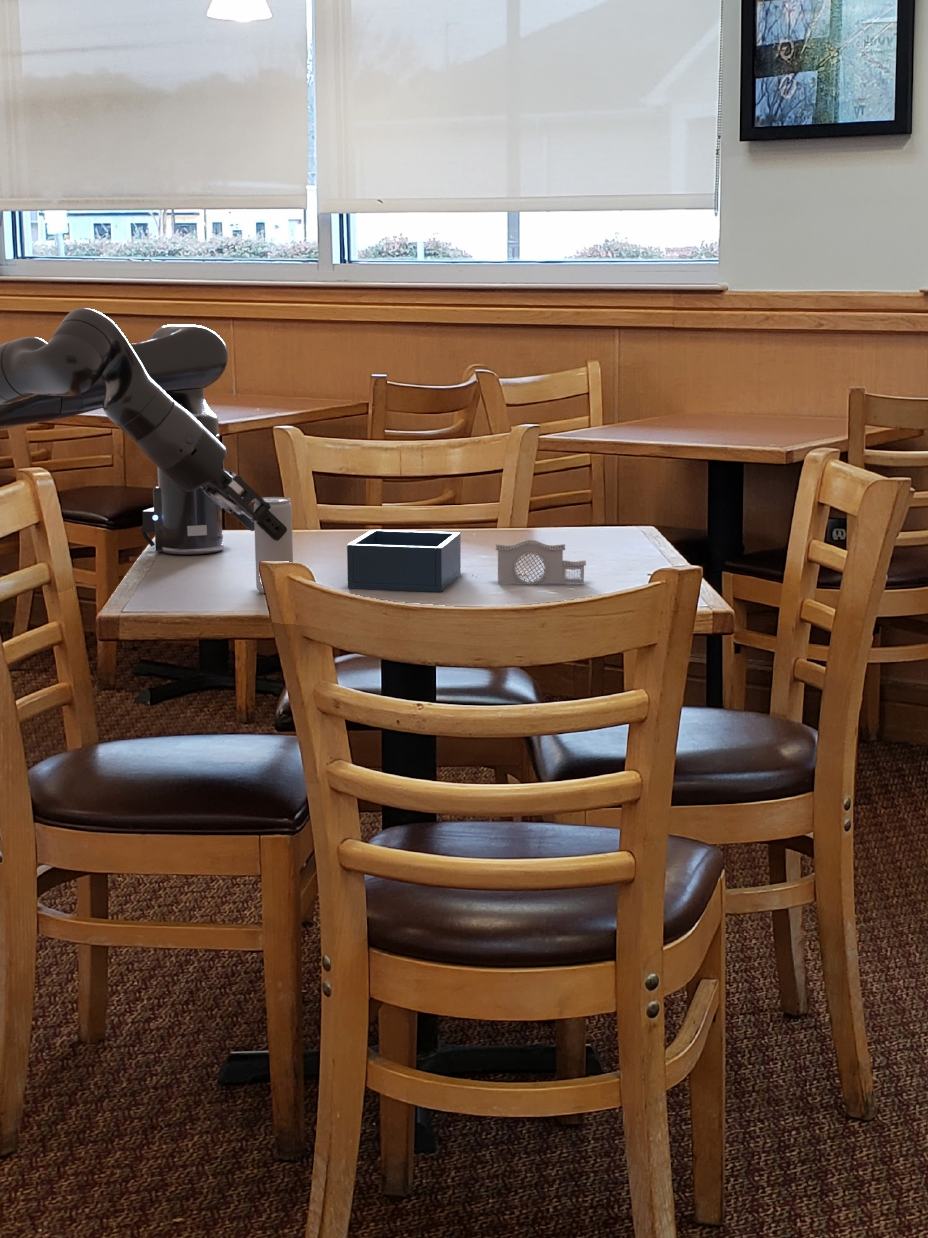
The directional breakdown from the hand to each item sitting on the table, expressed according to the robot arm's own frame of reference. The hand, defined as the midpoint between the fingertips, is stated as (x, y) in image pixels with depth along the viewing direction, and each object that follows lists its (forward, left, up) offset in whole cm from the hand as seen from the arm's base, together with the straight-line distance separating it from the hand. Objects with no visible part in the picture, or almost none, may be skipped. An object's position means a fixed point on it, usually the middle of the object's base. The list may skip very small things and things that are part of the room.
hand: (269, 530), depth 188 cm
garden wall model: (+33, +12, -8) cm, 37 cm away
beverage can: (0, 0, -8) cm, 8 cm away
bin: (+15, +10, -8) cm, 20 cm away
